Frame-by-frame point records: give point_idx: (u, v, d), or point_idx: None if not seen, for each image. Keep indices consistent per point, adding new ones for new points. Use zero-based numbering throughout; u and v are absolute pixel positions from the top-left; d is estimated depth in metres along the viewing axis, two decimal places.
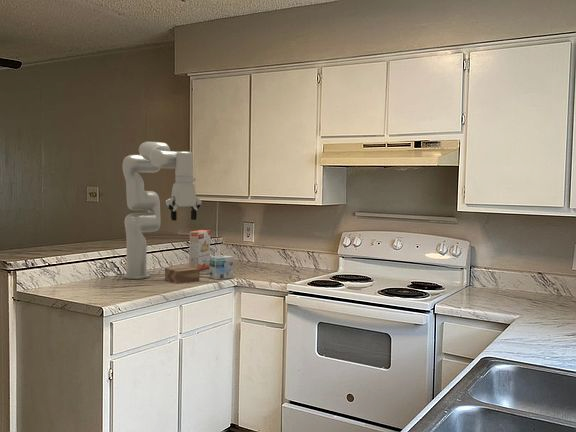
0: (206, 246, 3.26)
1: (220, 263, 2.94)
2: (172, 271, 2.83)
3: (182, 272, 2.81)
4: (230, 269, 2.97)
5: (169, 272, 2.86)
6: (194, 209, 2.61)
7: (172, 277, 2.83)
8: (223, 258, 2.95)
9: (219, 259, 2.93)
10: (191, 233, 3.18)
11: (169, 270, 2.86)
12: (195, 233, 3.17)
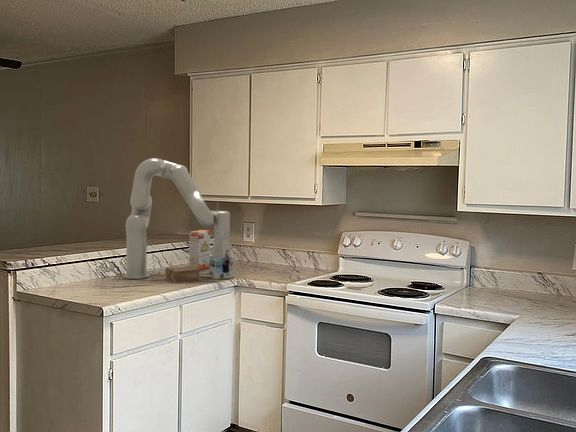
0: (206, 246, 3.26)
1: (220, 263, 2.94)
2: (171, 271, 2.84)
3: (180, 272, 2.81)
4: (230, 269, 2.97)
5: (169, 272, 2.86)
6: None
7: (171, 277, 2.84)
8: None
9: (219, 259, 2.93)
10: (191, 233, 3.18)
11: (169, 270, 2.86)
12: (195, 233, 3.17)
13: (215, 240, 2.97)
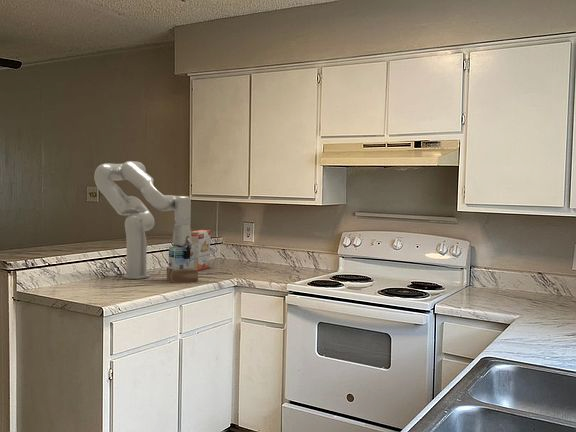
0: (206, 246, 3.26)
1: (180, 253, 2.84)
2: (170, 271, 2.84)
3: (178, 272, 2.81)
4: (190, 259, 2.88)
5: (169, 272, 2.87)
6: None
7: (170, 277, 2.84)
8: (183, 248, 2.85)
9: (178, 249, 2.84)
10: (191, 233, 3.18)
11: (169, 270, 2.87)
12: (195, 233, 3.17)
13: (175, 226, 2.87)
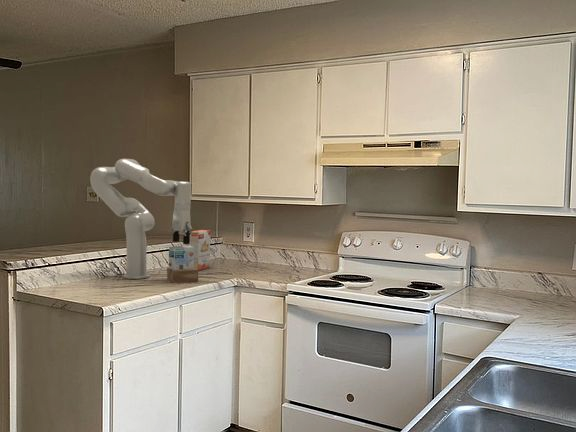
0: (206, 246, 3.26)
1: (180, 253, 2.84)
2: (170, 271, 2.84)
3: (178, 272, 2.81)
4: (190, 260, 2.87)
5: (169, 272, 2.87)
6: (177, 232, 2.91)
7: (171, 277, 2.84)
8: (183, 248, 2.85)
9: (178, 249, 2.83)
10: (191, 233, 3.18)
11: (169, 270, 2.87)
12: (195, 233, 3.17)
13: (175, 211, 2.86)
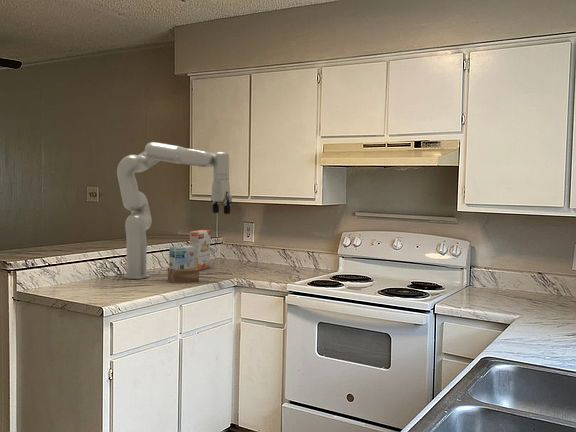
0: (206, 246, 3.26)
1: (180, 253, 2.84)
2: (171, 271, 2.84)
3: (179, 273, 2.81)
4: (191, 260, 2.87)
5: (170, 272, 2.87)
6: (217, 203, 2.94)
7: (171, 277, 2.84)
8: (183, 248, 2.85)
9: (179, 249, 2.83)
10: (191, 233, 3.18)
11: (170, 270, 2.87)
12: (195, 233, 3.17)
13: (214, 182, 2.89)
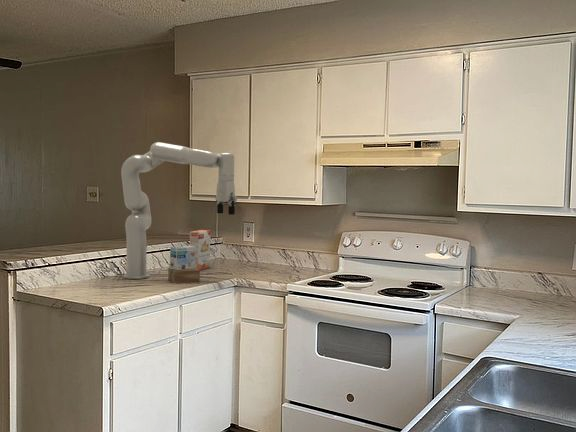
0: (206, 246, 3.26)
1: (182, 253, 2.83)
2: (172, 271, 2.84)
3: (180, 273, 2.81)
4: (192, 260, 2.87)
5: (170, 272, 2.86)
6: (221, 204, 2.94)
7: (172, 277, 2.84)
8: (184, 248, 2.84)
9: (180, 249, 2.83)
10: (191, 233, 3.18)
11: (170, 270, 2.86)
12: (195, 233, 3.17)
13: (219, 183, 2.89)
